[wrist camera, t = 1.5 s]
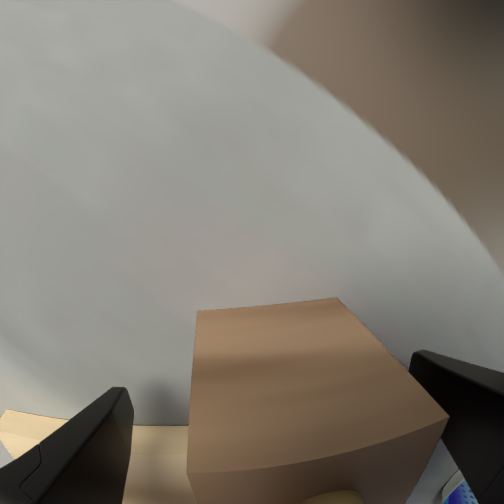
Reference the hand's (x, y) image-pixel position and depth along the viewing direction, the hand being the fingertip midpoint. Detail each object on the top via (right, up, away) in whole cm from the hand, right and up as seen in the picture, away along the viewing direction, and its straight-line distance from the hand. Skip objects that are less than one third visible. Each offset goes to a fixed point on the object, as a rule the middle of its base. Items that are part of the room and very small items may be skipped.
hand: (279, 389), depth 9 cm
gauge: (0, -3, +2) cm, 4 cm away
